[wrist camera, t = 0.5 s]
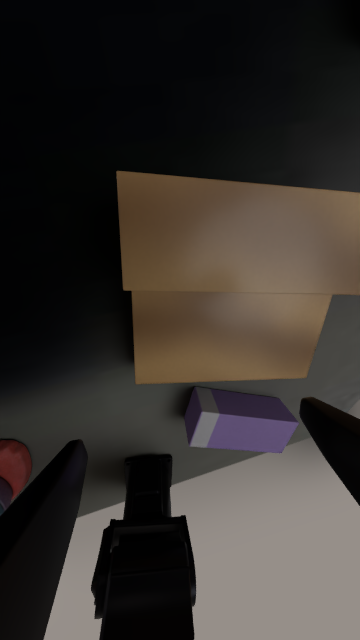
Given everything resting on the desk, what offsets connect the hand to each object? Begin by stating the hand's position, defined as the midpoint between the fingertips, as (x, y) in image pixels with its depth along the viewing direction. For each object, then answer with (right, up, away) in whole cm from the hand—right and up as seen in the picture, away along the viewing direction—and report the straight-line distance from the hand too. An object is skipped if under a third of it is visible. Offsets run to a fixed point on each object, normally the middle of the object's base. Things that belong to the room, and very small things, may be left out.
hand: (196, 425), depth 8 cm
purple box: (+6, -7, +18) cm, 21 cm away
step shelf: (+4, +7, +13) cm, 15 cm away
